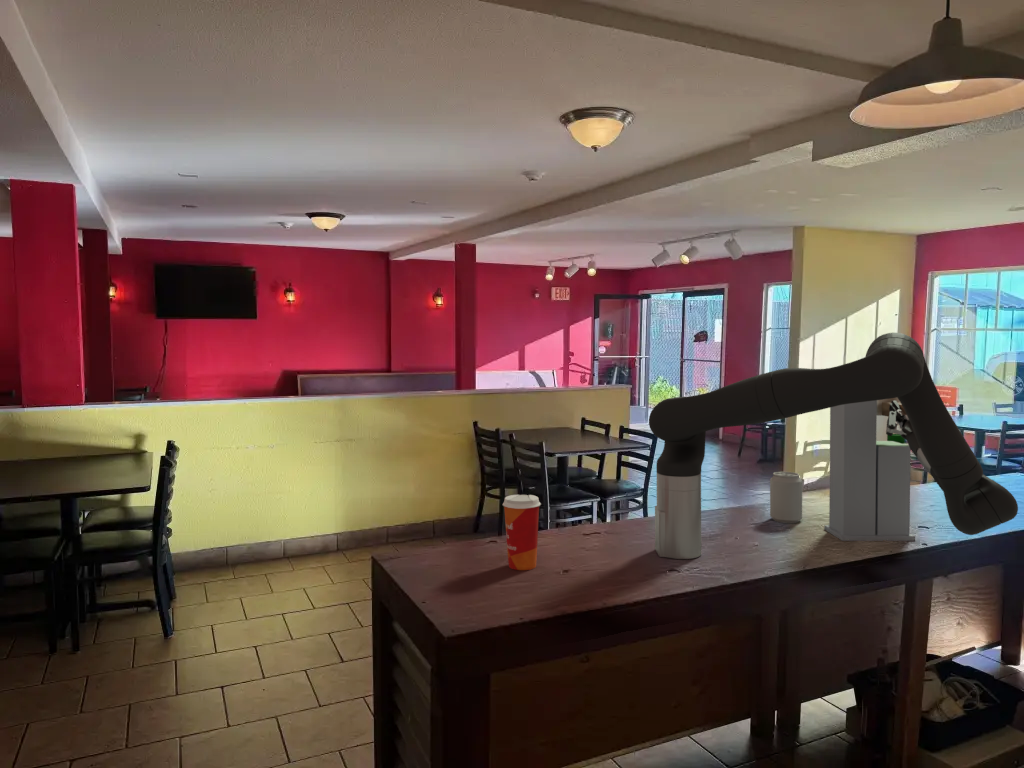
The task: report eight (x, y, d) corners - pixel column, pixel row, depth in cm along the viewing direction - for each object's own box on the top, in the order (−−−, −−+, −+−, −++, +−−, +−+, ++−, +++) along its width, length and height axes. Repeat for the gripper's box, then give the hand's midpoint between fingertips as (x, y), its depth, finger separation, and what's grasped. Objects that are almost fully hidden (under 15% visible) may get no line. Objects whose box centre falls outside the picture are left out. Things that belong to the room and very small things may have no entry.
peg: (902, 419, 150) (902, 397, 150) (868, 413, 166) (868, 393, 166) (925, 419, 150) (925, 396, 149) (889, 413, 166) (889, 392, 165)
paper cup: (507, 559, 148) (506, 493, 147) (543, 561, 146) (542, 494, 146) (500, 571, 140) (499, 501, 139) (538, 573, 139) (537, 502, 138)
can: (797, 525, 173) (797, 476, 172) (766, 521, 177) (766, 473, 177) (805, 519, 179) (805, 472, 178) (775, 515, 183) (775, 469, 183)
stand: (841, 540, 159) (843, 398, 157) (824, 529, 169) (825, 395, 167) (915, 540, 158) (917, 397, 156) (893, 529, 168) (894, 394, 166)
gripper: (980, 436, 138) (938, 388, 153) (906, 437, 139) (871, 390, 153) (968, 466, 142) (929, 417, 157) (897, 467, 143) (864, 418, 157)
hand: (900, 404), depth 155 cm, fingers closed on peg, 3 cm apart
